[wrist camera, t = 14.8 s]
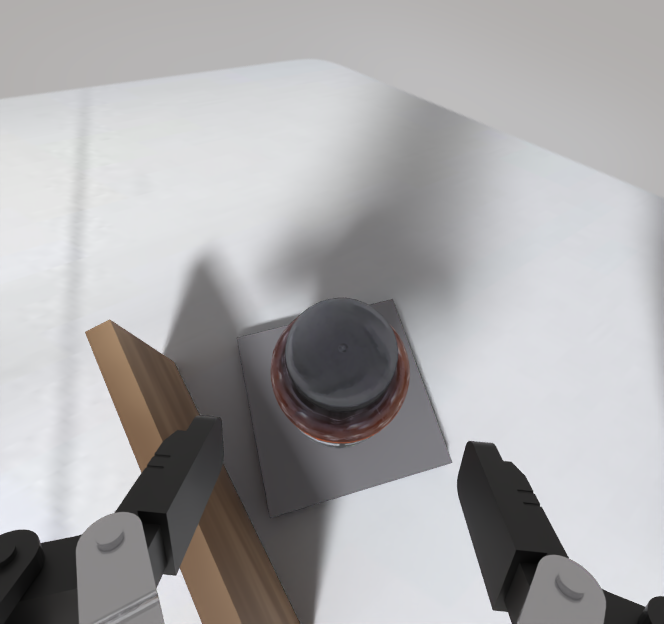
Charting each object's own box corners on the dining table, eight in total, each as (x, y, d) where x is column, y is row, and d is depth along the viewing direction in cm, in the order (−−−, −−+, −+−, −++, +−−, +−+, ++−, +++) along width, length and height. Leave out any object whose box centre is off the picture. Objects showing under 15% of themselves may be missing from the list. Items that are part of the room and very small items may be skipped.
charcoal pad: (390, 304, 27) (392, 299, 26) (447, 462, 23) (452, 462, 22) (240, 342, 26) (236, 337, 25) (272, 515, 22) (269, 518, 21)
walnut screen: (174, 361, 25) (109, 319, 18) (310, 645, 19) (299, 757, 12) (157, 371, 25) (85, 332, 17) (290, 661, 19) (267, 785, 12)
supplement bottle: (334, 335, 25) (339, 242, 14) (403, 397, 23) (465, 343, 13) (269, 401, 23) (221, 349, 13) (339, 472, 22) (349, 480, 11)
